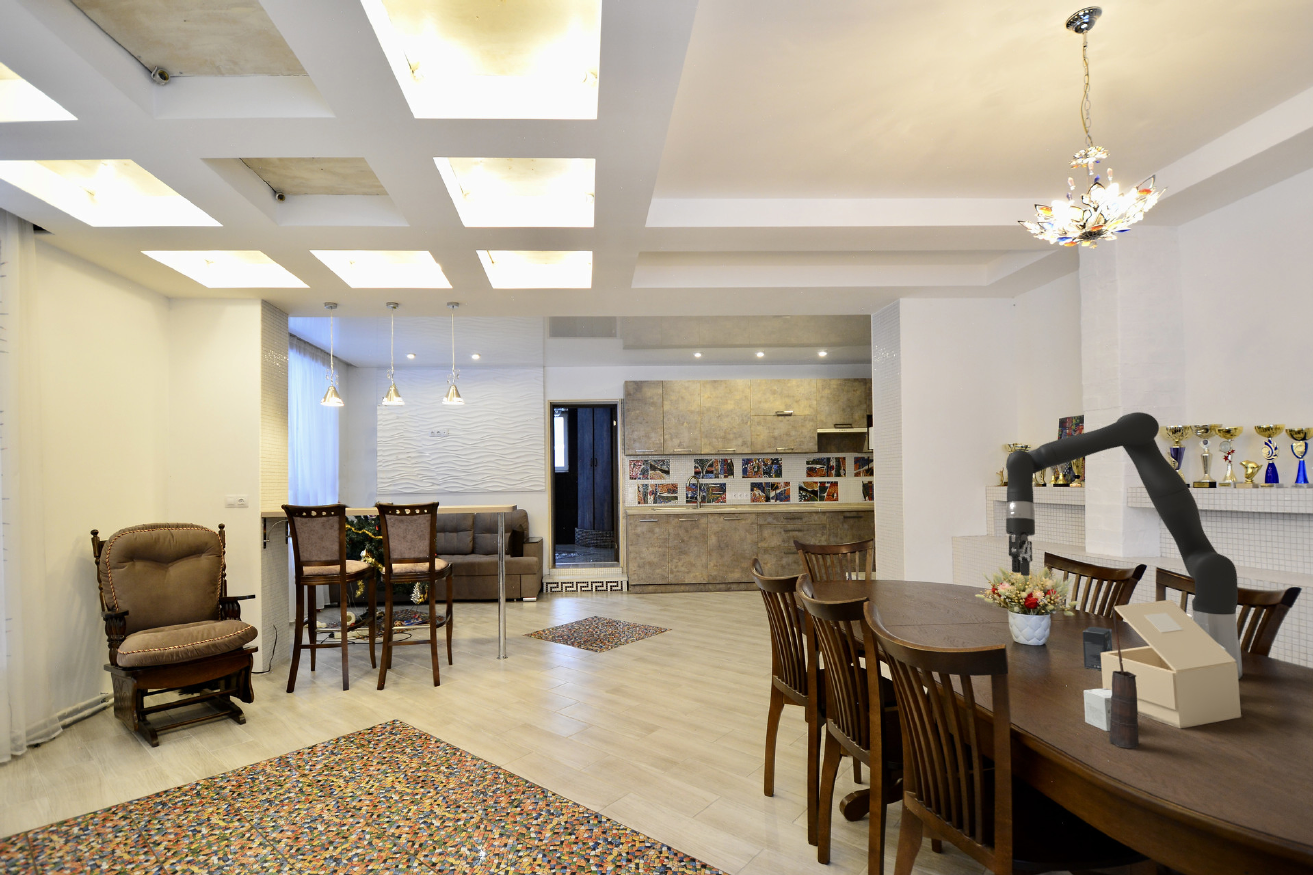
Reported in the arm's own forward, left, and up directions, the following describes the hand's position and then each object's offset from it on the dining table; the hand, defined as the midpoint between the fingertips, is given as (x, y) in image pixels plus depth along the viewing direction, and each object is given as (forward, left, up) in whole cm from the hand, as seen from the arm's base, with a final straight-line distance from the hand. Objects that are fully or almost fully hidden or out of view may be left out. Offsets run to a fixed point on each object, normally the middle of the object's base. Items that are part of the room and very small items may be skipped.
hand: (1021, 574), depth 197 cm
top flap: (-4, +39, -9) cm, 41 cm away
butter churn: (+24, +50, -27) cm, 61 cm away
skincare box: (+18, +40, -27) cm, 51 cm away
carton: (-4, +38, -27) cm, 47 cm away
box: (-20, +6, -27) cm, 35 cm away
